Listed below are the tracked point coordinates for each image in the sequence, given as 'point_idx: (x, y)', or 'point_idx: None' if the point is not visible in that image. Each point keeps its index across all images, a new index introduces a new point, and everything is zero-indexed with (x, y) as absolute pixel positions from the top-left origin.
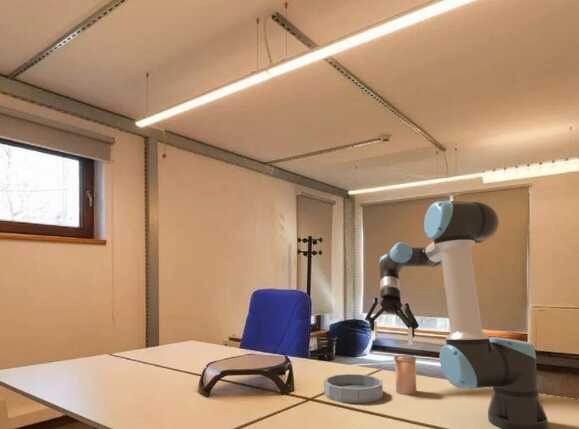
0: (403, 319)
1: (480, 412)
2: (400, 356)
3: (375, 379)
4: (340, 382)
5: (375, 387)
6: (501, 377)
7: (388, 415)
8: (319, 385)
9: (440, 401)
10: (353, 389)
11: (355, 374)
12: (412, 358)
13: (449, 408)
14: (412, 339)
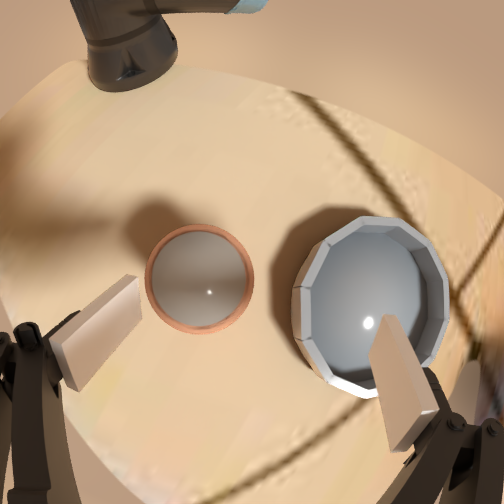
0: (58, 446)
1: (140, 105)
2: (221, 284)
3: (310, 320)
4: None
5: (352, 221)
6: None
7: (341, 142)
8: None
9: (164, 185)
10: (408, 225)
11: (349, 387)
12: (182, 235)
13: (182, 136)
14: (111, 288)
